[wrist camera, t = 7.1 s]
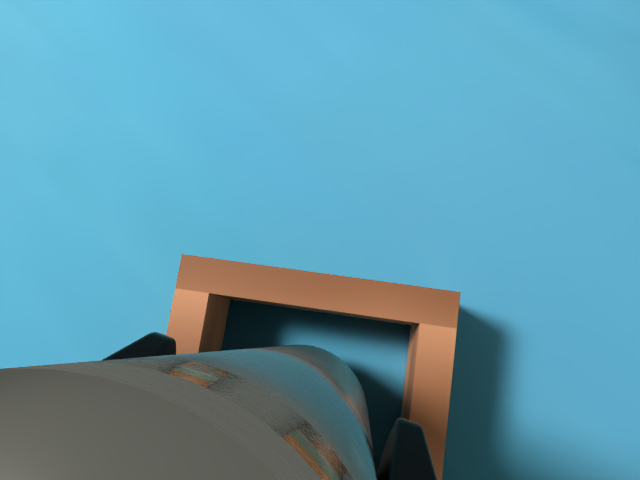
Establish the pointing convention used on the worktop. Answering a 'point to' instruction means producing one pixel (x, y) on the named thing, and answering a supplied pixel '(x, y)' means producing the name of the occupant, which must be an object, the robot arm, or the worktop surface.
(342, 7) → the worktop surface
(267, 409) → the pin
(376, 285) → the sprocket
